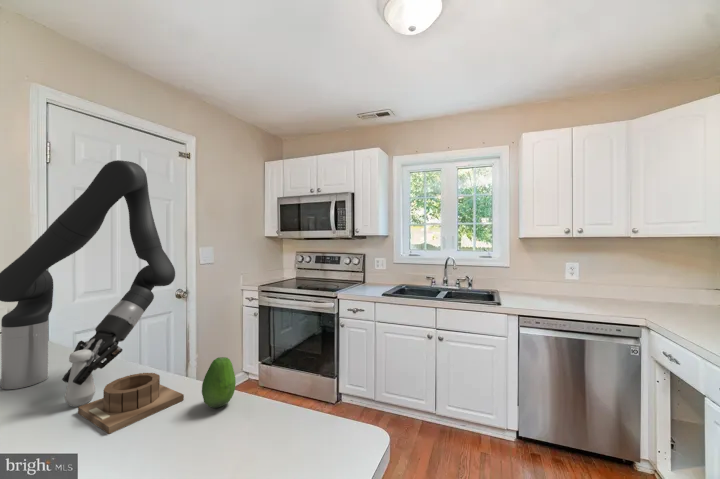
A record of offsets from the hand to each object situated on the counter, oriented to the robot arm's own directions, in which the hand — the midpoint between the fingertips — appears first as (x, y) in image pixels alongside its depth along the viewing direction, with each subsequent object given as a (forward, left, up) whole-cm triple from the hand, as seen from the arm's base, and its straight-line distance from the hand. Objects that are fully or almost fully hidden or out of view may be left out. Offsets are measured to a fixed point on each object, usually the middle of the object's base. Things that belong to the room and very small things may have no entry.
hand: (71, 382), depth 76 cm
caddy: (+13, +8, -6) cm, 16 cm away
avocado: (+31, +19, -6) cm, 36 cm away
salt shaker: (-1, +2, -6) cm, 6 cm away
